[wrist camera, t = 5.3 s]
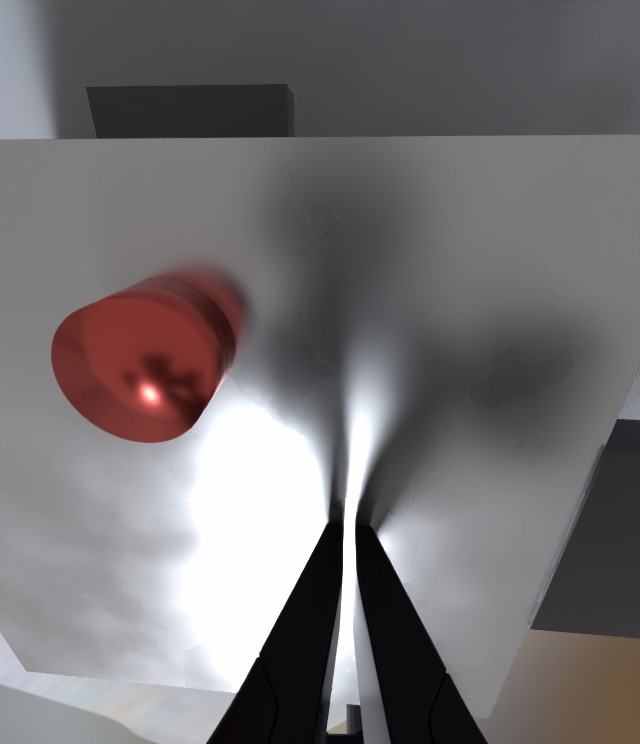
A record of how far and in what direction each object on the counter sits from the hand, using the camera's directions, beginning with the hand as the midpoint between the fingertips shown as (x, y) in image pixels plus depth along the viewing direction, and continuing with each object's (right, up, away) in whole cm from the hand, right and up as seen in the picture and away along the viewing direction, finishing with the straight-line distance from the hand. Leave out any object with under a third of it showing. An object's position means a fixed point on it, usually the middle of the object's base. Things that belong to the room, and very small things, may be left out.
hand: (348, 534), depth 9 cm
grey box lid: (-2, 0, +1) cm, 2 cm away
